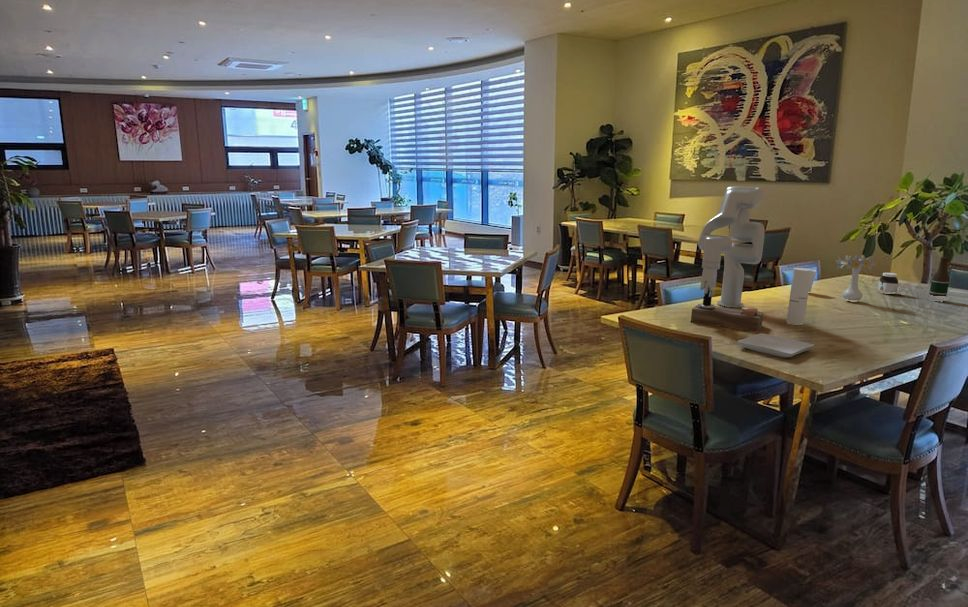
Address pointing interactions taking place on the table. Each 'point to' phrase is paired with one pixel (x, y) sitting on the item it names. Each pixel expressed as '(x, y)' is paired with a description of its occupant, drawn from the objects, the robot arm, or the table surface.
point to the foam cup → (812, 279)
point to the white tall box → (798, 296)
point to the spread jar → (889, 283)
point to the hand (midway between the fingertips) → (706, 304)
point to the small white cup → (706, 306)
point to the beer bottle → (940, 279)
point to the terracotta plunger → (749, 310)
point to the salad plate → (775, 345)
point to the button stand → (727, 318)
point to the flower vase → (854, 274)
